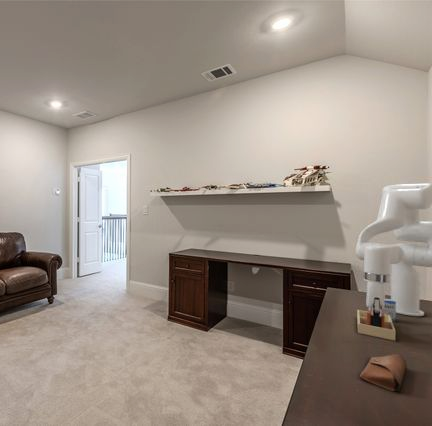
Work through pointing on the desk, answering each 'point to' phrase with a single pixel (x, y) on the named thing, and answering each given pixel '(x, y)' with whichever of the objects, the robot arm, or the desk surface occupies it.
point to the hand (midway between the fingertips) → (375, 324)
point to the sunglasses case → (385, 371)
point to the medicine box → (389, 308)
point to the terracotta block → (369, 318)
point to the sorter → (385, 332)
